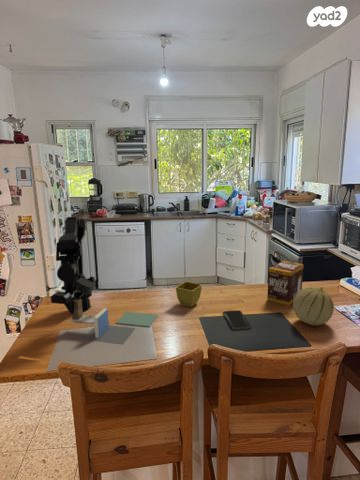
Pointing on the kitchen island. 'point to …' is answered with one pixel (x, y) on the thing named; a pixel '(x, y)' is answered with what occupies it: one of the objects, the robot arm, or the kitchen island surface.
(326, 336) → the kitchen island surface
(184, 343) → the kitchen island surface
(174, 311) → the kitchen island surface
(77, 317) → the upright brown pillar
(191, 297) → the flower pot
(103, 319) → the tile
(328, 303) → the cantaloupe
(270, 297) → the supplement box
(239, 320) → the phone
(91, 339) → the mat
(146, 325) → the board
